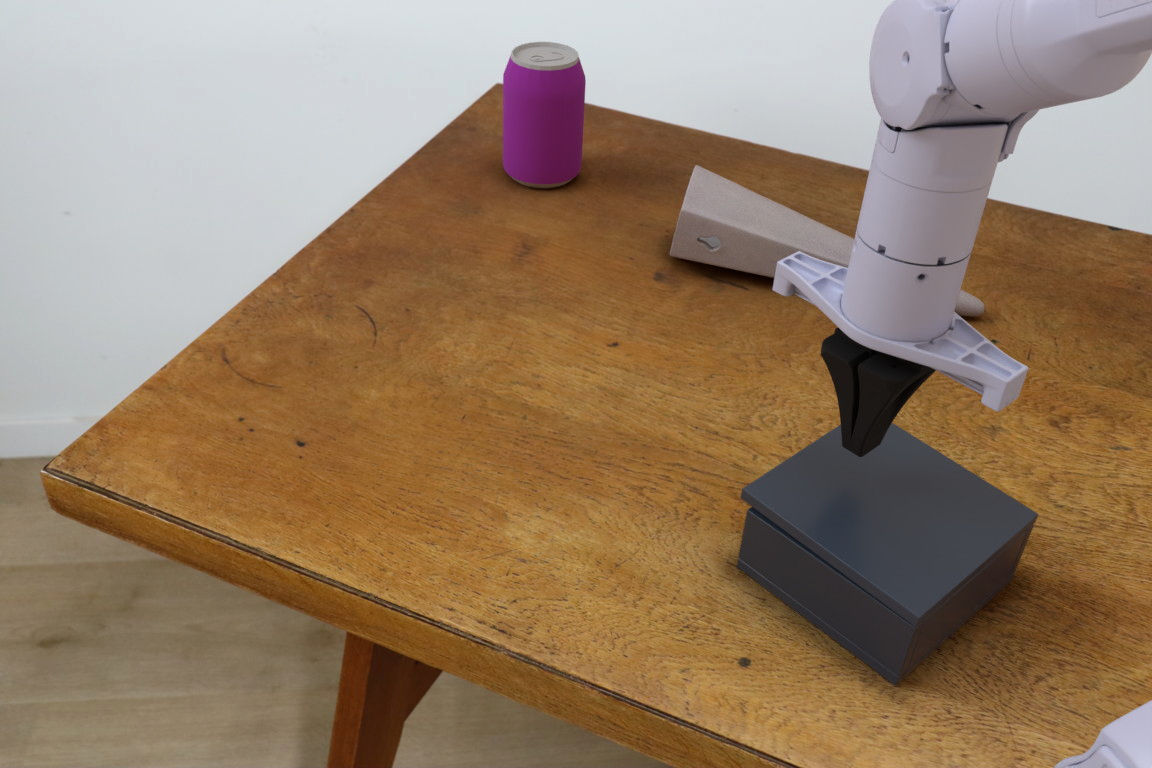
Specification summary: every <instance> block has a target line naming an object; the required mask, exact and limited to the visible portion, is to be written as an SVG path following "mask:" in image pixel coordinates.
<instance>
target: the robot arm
mask: <svg viewBox="0 0 1152 768" xmlns="http://www.w3.org/2000/svg"><path fill="white" fill-rule="evenodd" d="M1151 55H1152V0H893V1H892V2H890V3H889V4H888V5H887V6H886V7H885V9H884V10H883V12H882V13H881V15H880V16H879V19H878V21H877V23H876V26H875V29H874V33H873V36H872V40H871V45H870V52H869V63H868V65H869V66H868V68H869V71H868V73H869V75H868V76H869V85H870V92H871V97H872V100H873V104H874V106H875V109H876V111H877V113H878V115H879V116H880V120H879V124H878V129H877V134H876V138H875V142H874V148H873V152H872V156H871V162H870V167H869V171H868V175H867V180H866V183H865V184H866V185H865V189H864V193H863V198H862V203H861V206H860V207H861V208H860V212H859V217H858V220H857V225H856V231H855V235H854V238H853V239H854V243H853V248H852V253H851V257H850V262H849V266H848V268H846V267H843V266H839V265H835V264H832V263H828V262H825V261H822V260H819V259H816V258H814V257H811V256H809V255H807V254H804V253H802V252H800V251H798V252H796V253H794V254H792V255H790V256H788V257H786V258H784V259H782V260H780V261H778V262H777V266H776V272H775V278H773V282H772V283H773V285H772V291H774V293H777V294H779V295H780V296H782V297H785V298H789V297H791V296H793V295H794V296H797V297H798V298H800V299H802V300H804V301H806V302H808V303H809V304H811V305H813V306H815V307H817V309H818V310H820V312H822V313H823V314H824V315H825V316H826V317H827V318H828V319H829V320H830V321H831V322H832V323H833V324H834V325H835V326H836V327H835V329H834V332H833V333H832V334H830V335H829V336H826V337H825V338H824V339H823V340H822V342H821V347H820V356H821V359H822V360H823V362H824V364H825V366H826V369H827V370H828V373H829V375H830V378H831V380H832V383H833V387H834V390H835V394H836V400H837V405H838V411H839V418H840V419H839V421H840V424H841V436H842V447H844V448H845V449H847V450H849V451H850V452H852V453H854V454H855V455H857V456H858V457H863V456H864V455H866V454H867V453H869V452H870V451H872V450H873V449H874V448H876V447H877V446H879V445H880V444H881V442H882V440H883V438H884V436H885V434H886V432H887V430H888V428H889V427H890V425H891V423H894V420H895V419H896V417H897V416H898V414H899V413H900V411H902V409H903V408H904V406H905V405H906V403H907V402H908V401H909V400H910V399H911V397H912V396H913V395H914V394H915V393H916V392H917V390H919V388H920V387H921V386H922V385H923V384H924V383H926V381H927V380H928V379H929V378H930V377H931V376H932V375H933V374H934V373H935V372H936V371H937V372H938V373H940V374H941V375H944V376H946V377H948V378H949V379H952V380H953V381H955V382H957V383H958V384H960V385H962V386H964V387H966V388H968V389H970V390H972V391H974V392H975V393H977V394H979V395H981V400H980V402H981V404H982V405H983V406H985V407H986V408H988V409H991V410H992V411H994V412H996V413H999V412H1001V411H1002V410H1004V409H1005V408H1007V407H1008V406H1010V405H1011V404H1012V403H1013V402H1015V400H1017V399H1019V397H1020V394H1021V391H1022V388H1023V386H1024V382H1025V380H1026V377H1027V374H1028V371H1029V369H1030V368H1029V367H1028V366H1027V365H1026V364H1024V363H1021V362H1020V361H1018V360H1017V359H1015V358H1013V357H1012V356H1010V355H1009V354H1006V353H1005V351H1003V350H1001V348H998V346H997V345H995V343H993V342H992V341H990V340H989V339H988V338H987V337H986V336H984V334H982V333H981V332H979V330H977V329H976V328H975V327H974V326H973V325H971V324H970V323H968V321H966V320H965V319H964V318H962V316H960V315H958V314H957V313H955V312H954V310H955V307H956V303H957V300H958V296H959V293H960V290H962V286H963V282H964V279H965V275H966V272H967V268H968V265H969V262H970V259H971V255H972V252H973V248H974V246H975V241H976V238H977V235H978V231H979V228H980V226H981V225H980V224H981V221H982V218H983V214H984V211H985V207H986V204H987V201H988V198H989V194H990V191H991V186H992V184H993V180H994V177H995V175H996V170H997V166H998V163H1001V162H1003V161H1004V160H1007V159H1008V158H1009V156H1010V155H1013V154H1014V152H1015V148H1016V145H1017V142H1018V138H1019V136H1020V133H1021V131H1022V129H1023V128H1024V126H1025V125H1026V124H1027V122H1029V121H1030V120H1032V119H1033V118H1034V117H1035V116H1036V115H1037V114H1038V113H1039V111H1040V110H1043V109H1049V108H1054V107H1058V106H1064V105H1069V104H1073V103H1077V102H1078V103H1079V102H1083V101H1087V100H1093V99H1097V98H1102V97H1105V96H1108V95H1110V94H1113V93H1115V92H1117V91H1119V90H1121V89H1123V88H1124V87H1125V86H1127V85H1128V84H1130V83H1131V82H1132V81H1133V80H1135V78H1136V77H1137V76H1138V75H1139V74H1140V73H1141V71H1142V70H1143V69H1144V67H1145V66H1146V64H1147V63H1148V61H1149V60H1150V58H1151ZM1053 768H1152V699H1151V700H1149V701H1148V702H1145V703H1144V704H1142V705H1139V706H1138V707H1136V708H1134V709H1132V710H1131V711H1128V712H1127V713H1126V714H1124V715H1122V716H1120V717H1118V718H1116V719H1114V720H1113V721H1111V722H1110V723H1108V724H1106V725H1105V726H1103V728H1102V729H1101V730H1100V732H1099V733H1098V735H1097V737H1096V739H1095V740H1094V742H1093V744H1092V745H1091V747H1090V748H1088V750H1086V751H1085V752H1084V753H1082V754H1078V755H1072V756H1068V757H1065V758H1063V759H1062V760H1060V761H1058V762H1057V763H1056V764H1055V766H1054V767H1053Z"/></svg>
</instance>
